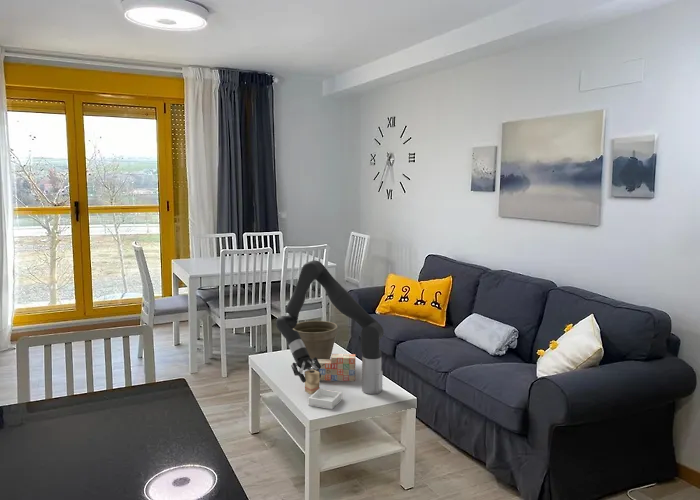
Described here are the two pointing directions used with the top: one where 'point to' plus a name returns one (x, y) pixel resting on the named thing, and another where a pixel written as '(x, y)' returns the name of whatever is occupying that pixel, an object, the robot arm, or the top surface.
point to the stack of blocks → (338, 367)
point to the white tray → (325, 398)
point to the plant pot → (318, 337)
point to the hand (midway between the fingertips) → (312, 379)
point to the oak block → (311, 381)
